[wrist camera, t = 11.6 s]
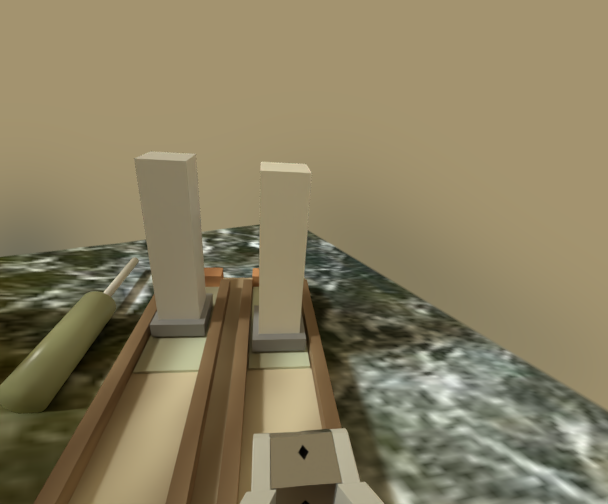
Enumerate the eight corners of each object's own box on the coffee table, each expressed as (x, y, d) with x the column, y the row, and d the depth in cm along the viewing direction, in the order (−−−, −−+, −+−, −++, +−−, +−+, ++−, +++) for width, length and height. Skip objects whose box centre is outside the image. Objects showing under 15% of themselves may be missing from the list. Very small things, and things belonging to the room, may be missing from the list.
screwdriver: (50, 415, 18) (47, 383, 17) (-1, 412, 18) (-9, 379, 17) (147, 273, 34) (148, 251, 33) (121, 269, 33) (121, 247, 32)
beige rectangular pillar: (252, 351, 22) (252, 172, 16) (254, 315, 25) (254, 159, 20) (305, 350, 22) (320, 175, 17) (299, 315, 26) (310, 162, 21)
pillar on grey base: (151, 336, 22) (122, 159, 17) (167, 303, 26) (146, 149, 21) (204, 335, 23) (191, 163, 18) (213, 303, 26) (203, 152, 21)
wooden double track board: (-354, 1321, 5) (-526, 1427, 4) (170, 288, 31) (167, 265, 30) (462, 1050, 6) (503, 1071, 5) (303, 288, 32) (305, 266, 31)
